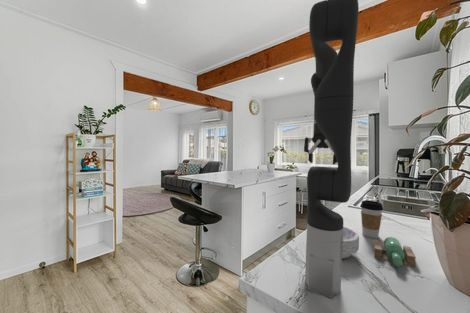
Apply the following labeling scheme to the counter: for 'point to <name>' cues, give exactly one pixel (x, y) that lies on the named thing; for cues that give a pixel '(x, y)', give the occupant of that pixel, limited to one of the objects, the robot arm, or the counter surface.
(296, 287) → the counter surface
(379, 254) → the cradle
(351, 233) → the paper bowls
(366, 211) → the coffee cup
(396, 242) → the bottle
